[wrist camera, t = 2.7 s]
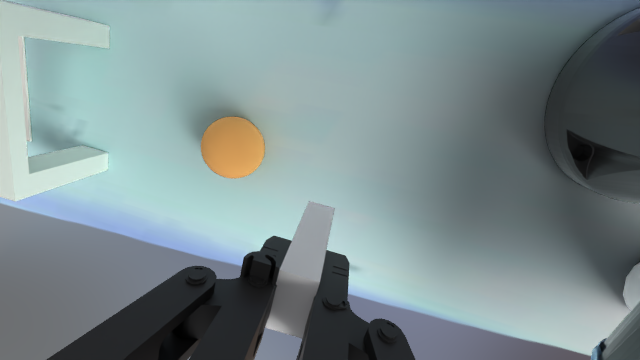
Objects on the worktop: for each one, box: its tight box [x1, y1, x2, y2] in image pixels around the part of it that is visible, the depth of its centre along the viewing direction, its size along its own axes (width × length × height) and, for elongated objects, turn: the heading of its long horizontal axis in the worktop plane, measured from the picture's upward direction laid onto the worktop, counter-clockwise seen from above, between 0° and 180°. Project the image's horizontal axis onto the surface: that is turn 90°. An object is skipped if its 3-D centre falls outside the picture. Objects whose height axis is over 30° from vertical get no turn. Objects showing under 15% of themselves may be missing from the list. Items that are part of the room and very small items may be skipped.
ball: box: [201, 117, 265, 178], centre depth 27 cm, size 6×6×6 cm
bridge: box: [0, 0, 110, 201], centre depth 26 cm, size 3×14×9 cm, turn 166°
